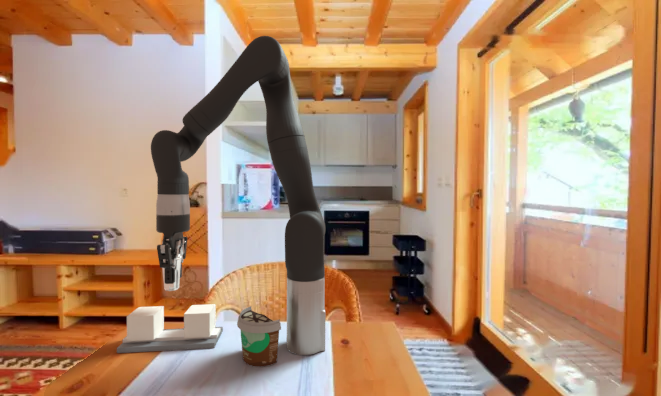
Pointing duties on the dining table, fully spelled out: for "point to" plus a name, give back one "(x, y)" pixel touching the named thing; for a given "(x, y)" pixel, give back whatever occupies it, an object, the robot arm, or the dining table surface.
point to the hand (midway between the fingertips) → (173, 280)
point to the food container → (258, 338)
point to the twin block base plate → (170, 330)
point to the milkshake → (177, 275)
